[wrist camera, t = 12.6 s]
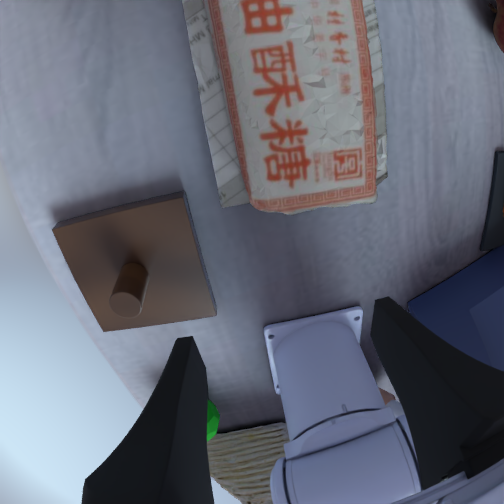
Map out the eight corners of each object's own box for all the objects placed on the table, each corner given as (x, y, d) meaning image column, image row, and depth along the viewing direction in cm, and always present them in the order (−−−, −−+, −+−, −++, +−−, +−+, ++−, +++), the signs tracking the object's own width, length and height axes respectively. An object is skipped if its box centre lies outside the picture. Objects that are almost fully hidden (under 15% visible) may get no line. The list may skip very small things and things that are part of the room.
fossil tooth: (187, 424, 34) (314, 408, 32) (206, 445, 37) (320, 432, 35) (176, 509, 24) (326, 502, 22) (199, 521, 27) (330, 513, 25)
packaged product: (416, 209, 15) (222, 242, 15) (377, 177, 19) (221, 201, 19) (375, -118, 6) (156, -117, 6) (343, -87, 10) (169, -79, 10)
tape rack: (216, 306, 23) (217, 347, 20) (106, 323, 23) (94, 361, 20) (184, 190, 18) (177, 220, 15) (57, 222, 18) (31, 254, 15)
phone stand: (506, 240, 23) (588, 321, 13) (500, 316, 29) (553, 388, 19) (407, 302, 25) (476, 415, 15) (420, 368, 31) (462, 454, 21)
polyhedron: (195, 416, 31) (195, 454, 27) (158, 398, 29) (155, 439, 25) (229, 399, 30) (232, 440, 26) (191, 379, 27) (191, 423, 23)
